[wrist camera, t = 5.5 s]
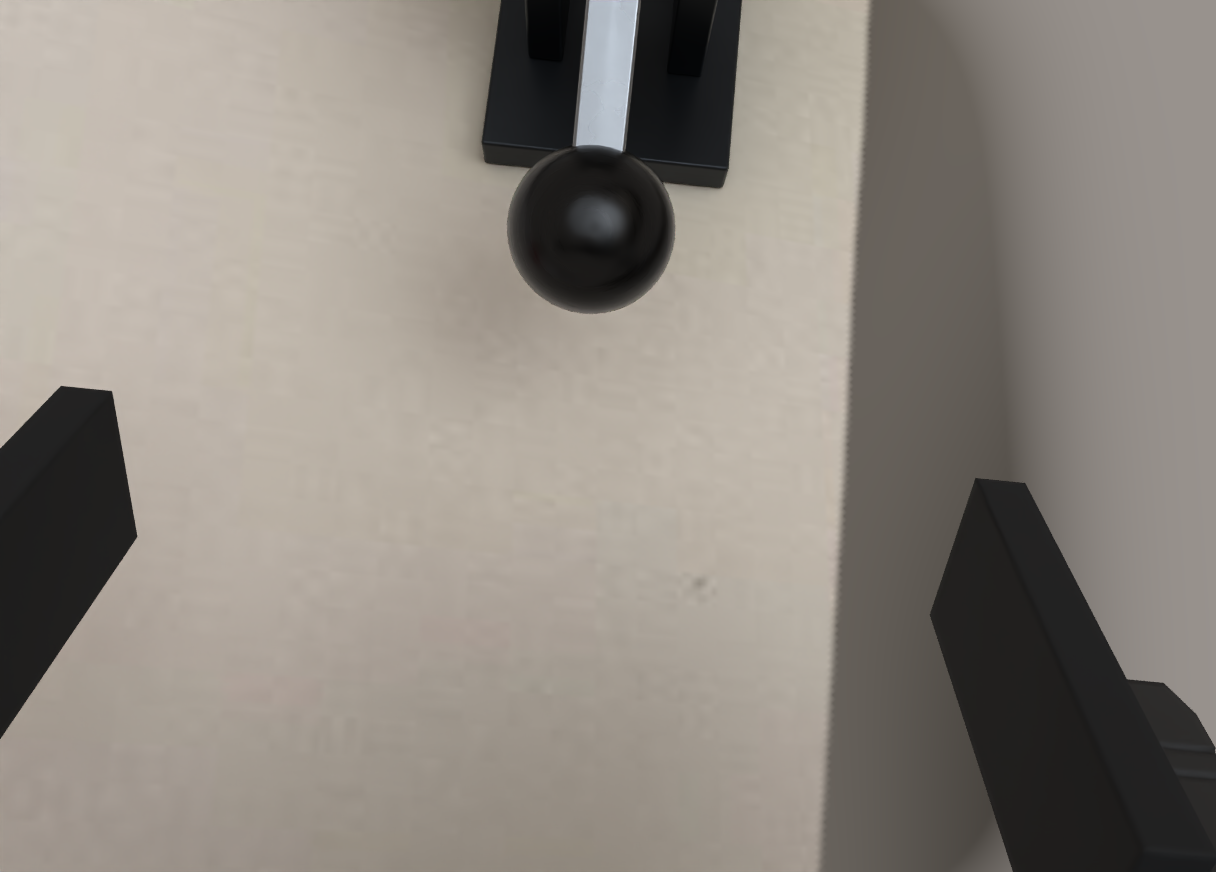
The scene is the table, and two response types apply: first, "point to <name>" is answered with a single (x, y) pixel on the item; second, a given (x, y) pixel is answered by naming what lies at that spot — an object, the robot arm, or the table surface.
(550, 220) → the lever
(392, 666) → the table surface
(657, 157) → the switch bracket
